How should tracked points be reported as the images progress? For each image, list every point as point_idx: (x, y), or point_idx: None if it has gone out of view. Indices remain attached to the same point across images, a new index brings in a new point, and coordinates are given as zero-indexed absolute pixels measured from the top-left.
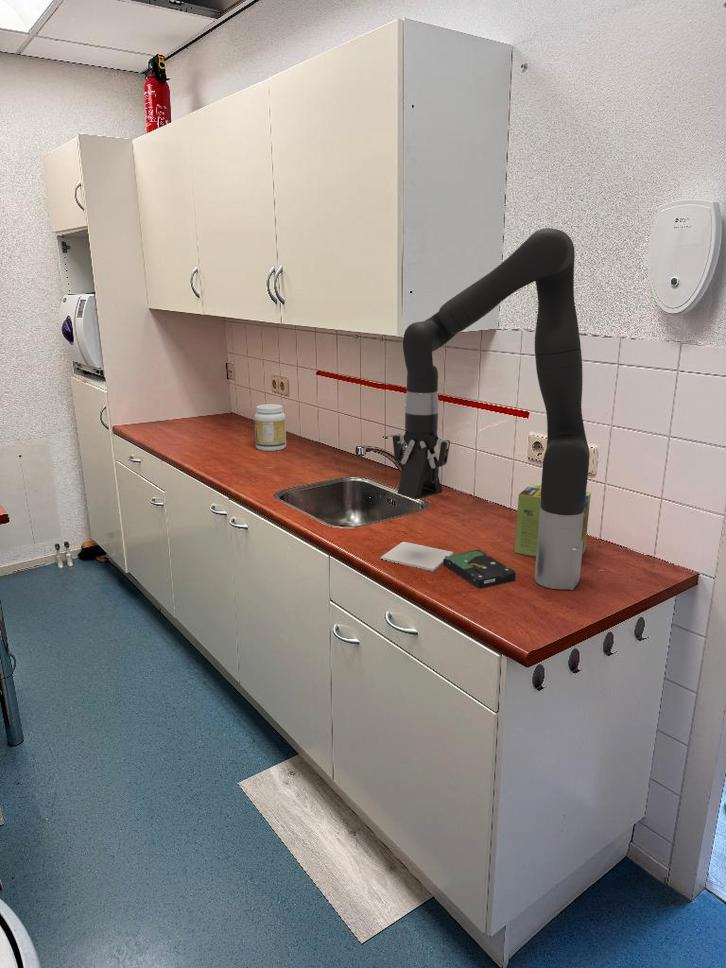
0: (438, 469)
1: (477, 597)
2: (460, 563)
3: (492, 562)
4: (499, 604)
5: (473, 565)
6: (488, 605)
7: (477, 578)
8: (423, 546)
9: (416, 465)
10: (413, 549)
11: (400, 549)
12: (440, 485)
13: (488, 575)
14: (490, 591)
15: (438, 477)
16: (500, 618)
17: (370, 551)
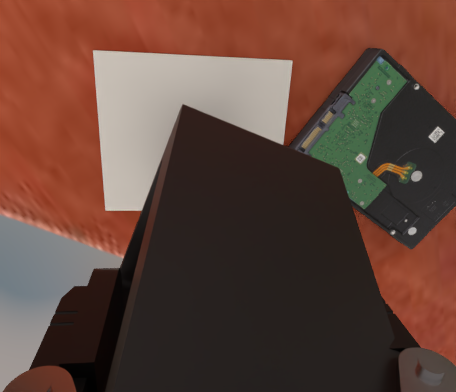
0: (416, 344)
1: (402, 276)
2: (349, 181)
3: (435, 131)
4: (448, 282)
5: (386, 177)
6: (427, 295)
7: (407, 244)
8: (181, 61)
9: None
10: (163, 104)
11: (125, 127)
12: (347, 197)
13: (431, 217)
14: (426, 239)
15: (364, 251)
16: (452, 326)
17: (41, 168)
